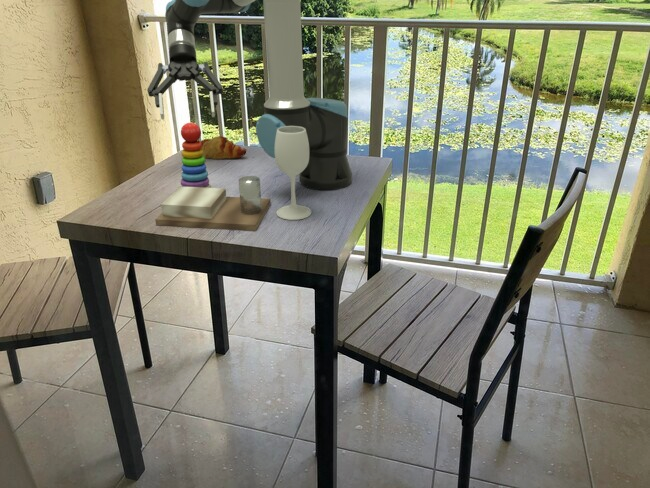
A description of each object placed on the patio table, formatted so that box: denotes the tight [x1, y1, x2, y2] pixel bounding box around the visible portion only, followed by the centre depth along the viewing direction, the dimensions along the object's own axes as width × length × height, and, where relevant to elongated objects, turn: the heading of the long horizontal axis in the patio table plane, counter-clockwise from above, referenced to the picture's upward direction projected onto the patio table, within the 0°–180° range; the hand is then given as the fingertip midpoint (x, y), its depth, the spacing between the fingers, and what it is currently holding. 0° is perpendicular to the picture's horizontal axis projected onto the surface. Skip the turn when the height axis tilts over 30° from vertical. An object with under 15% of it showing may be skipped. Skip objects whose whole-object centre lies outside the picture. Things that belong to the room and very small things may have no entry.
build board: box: [155, 185, 272, 232], centre depth 125 cm, size 24×16×4 cm, turn 83°
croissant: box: [199, 135, 247, 160], centre depth 167 cm, size 21×10×8 cm, turn 71°
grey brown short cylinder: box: [238, 175, 262, 215], centre depth 123 cm, size 5×5×8 cm
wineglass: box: [274, 126, 312, 221], centre depth 122 cm, size 9×9×21 cm
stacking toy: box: [180, 122, 212, 188], centre depth 135 cm, size 8×8×19 cm
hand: (188, 115), depth 140 cm, fingers open, 13 cm apart
